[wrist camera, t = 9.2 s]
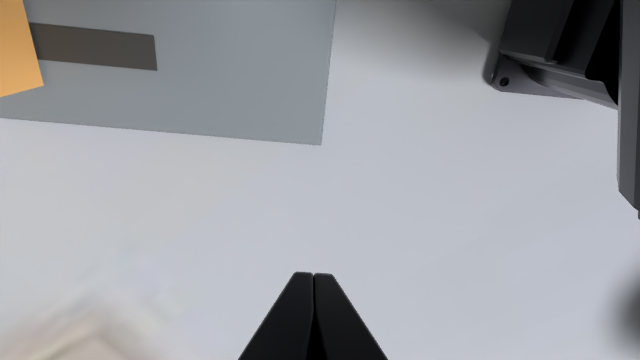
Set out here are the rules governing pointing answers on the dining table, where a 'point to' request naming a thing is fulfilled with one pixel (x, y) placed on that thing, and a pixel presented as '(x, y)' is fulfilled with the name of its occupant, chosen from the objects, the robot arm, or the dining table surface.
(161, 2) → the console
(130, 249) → the dining table surface
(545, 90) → the robot arm
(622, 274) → the dining table surface
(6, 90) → the slider knob
